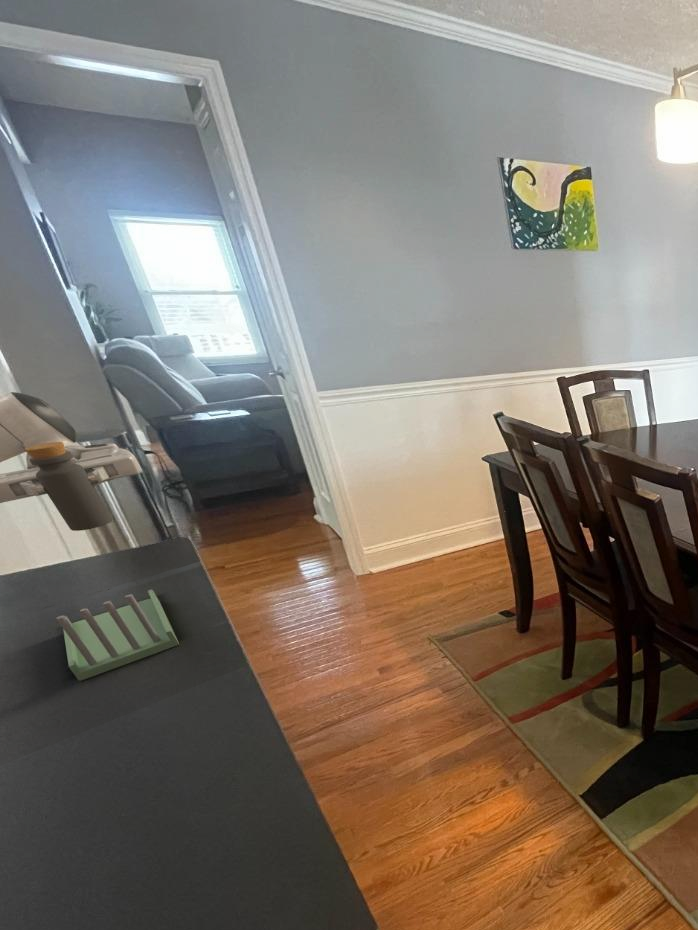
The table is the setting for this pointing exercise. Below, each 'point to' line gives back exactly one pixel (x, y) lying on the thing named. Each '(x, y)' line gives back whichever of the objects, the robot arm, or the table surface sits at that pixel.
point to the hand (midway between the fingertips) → (67, 484)
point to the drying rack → (116, 636)
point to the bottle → (69, 487)
